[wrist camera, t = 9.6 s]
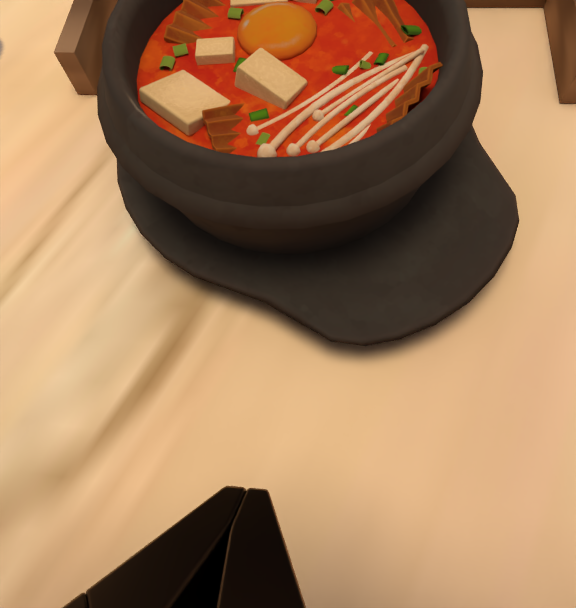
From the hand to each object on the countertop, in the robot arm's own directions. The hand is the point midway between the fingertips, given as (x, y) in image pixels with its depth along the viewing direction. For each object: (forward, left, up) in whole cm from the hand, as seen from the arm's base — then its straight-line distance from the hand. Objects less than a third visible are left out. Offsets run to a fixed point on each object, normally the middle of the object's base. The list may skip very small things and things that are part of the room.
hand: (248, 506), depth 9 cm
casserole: (+18, +1, -12) cm, 22 cm away
